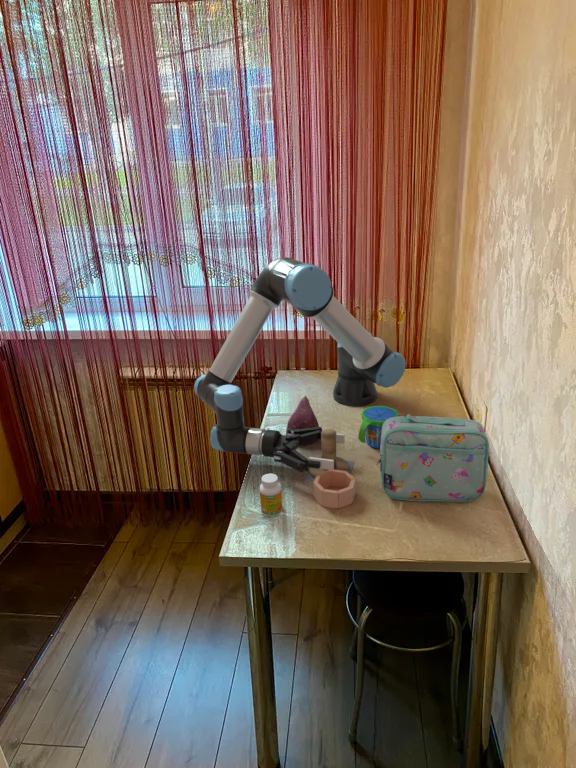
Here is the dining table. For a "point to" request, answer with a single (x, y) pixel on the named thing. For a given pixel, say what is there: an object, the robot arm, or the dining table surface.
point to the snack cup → (374, 424)
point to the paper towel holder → (329, 453)
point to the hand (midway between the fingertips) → (339, 451)
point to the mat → (310, 478)
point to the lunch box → (433, 458)
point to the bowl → (334, 488)
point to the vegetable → (303, 418)
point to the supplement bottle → (270, 495)
